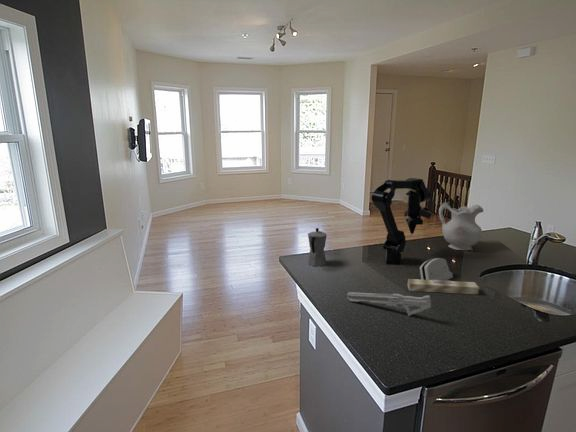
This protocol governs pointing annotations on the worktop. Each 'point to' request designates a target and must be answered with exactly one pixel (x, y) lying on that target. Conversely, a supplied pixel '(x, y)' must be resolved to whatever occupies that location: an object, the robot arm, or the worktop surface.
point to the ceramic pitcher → (461, 226)
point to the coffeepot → (317, 248)
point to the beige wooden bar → (443, 286)
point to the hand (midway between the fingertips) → (411, 233)
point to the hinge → (435, 270)
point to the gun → (394, 300)
